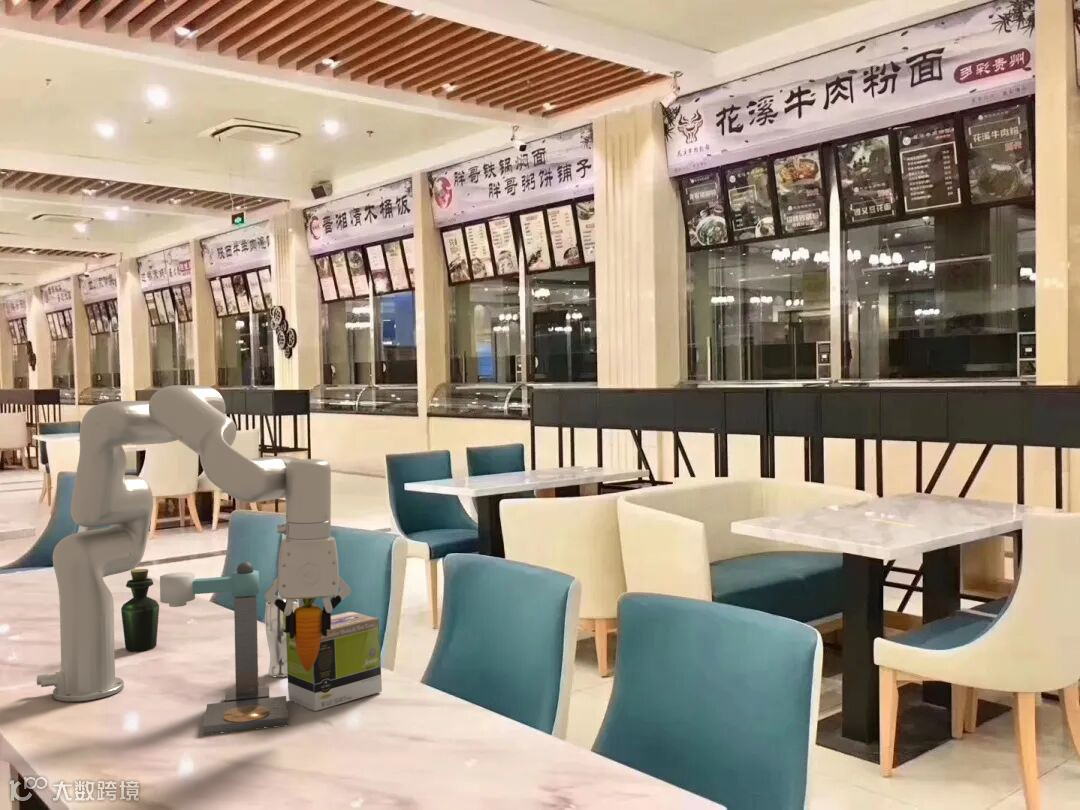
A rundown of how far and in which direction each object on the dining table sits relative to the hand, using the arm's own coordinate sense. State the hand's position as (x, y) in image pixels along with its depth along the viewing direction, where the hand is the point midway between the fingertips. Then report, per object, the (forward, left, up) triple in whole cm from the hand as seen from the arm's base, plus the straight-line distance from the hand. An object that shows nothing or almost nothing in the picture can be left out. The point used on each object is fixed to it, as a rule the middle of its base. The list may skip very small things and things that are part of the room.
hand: (308, 634), depth 162 cm
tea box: (+5, +16, -17) cm, 24 cm away
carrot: (0, 0, -7) cm, 7 cm away
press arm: (-17, +19, +3) cm, 25 cm away
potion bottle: (-35, +66, -17) cm, 76 cm away
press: (-11, +12, -16) cm, 23 cm away
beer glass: (-4, +35, -17) cm, 39 cm away
